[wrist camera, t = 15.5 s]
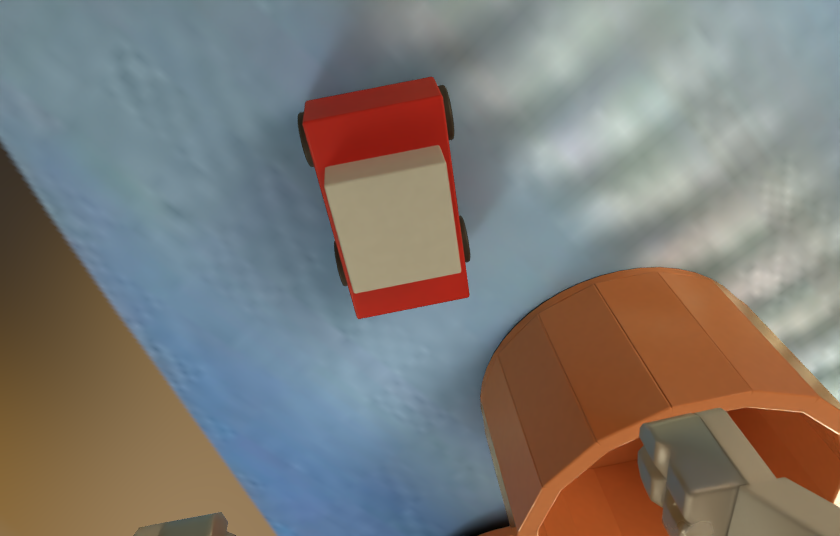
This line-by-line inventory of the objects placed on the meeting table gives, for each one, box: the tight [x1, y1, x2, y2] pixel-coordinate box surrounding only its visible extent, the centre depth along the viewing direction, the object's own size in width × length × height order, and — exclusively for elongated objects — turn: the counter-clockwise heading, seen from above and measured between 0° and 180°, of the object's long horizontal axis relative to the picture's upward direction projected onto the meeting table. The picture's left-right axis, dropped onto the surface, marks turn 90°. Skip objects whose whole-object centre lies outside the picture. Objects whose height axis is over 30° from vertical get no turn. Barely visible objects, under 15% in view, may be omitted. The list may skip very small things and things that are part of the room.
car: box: [298, 77, 470, 319], centre depth 20 cm, size 8×5×4 cm, turn 9°
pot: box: [480, 267, 840, 536], centre depth 26 cm, size 14×14×8 cm
